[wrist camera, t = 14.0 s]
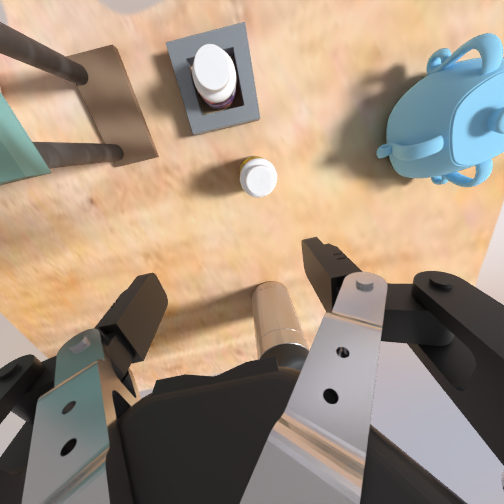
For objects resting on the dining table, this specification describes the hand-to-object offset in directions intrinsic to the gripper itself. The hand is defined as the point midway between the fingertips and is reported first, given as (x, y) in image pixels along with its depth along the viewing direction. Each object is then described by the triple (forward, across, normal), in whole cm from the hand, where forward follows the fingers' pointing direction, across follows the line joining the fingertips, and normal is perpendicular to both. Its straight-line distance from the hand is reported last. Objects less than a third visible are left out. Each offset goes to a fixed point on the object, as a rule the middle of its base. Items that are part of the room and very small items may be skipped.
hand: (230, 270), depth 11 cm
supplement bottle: (+30, -4, -1) cm, 31 cm away
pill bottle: (+30, -1, -14) cm, 33 cm away
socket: (+30, -1, -14) cm, 33 cm away
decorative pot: (+30, -34, -2) cm, 46 cm away
